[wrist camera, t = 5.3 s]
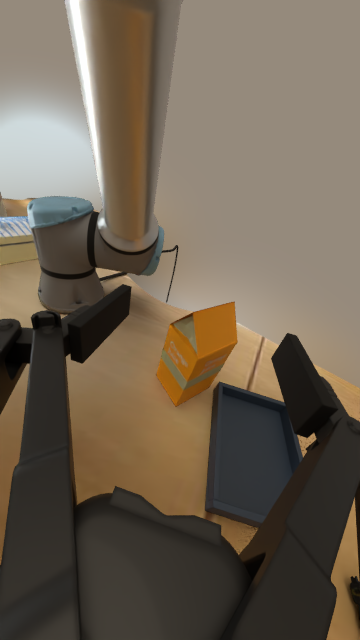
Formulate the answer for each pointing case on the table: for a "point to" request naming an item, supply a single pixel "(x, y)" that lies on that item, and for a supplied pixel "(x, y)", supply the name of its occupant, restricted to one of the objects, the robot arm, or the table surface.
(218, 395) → the tray
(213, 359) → the orange juice
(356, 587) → the tape measure
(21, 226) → the pale yellow long box
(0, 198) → the stool
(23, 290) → the table surface
